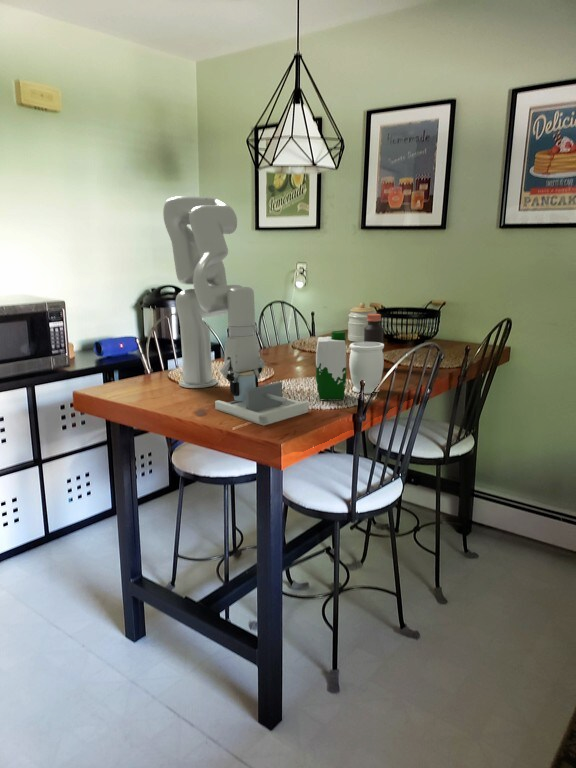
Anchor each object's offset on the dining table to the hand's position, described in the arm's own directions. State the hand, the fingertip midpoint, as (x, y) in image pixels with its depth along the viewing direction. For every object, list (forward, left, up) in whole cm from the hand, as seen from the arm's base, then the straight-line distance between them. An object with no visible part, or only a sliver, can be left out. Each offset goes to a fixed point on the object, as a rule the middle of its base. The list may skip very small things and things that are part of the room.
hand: (244, 392), depth 164 cm
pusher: (+13, 0, -3) cm, 13 cm away
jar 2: (+15, +37, -4) cm, 40 cm away
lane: (+7, 0, -4) cm, 8 cm away
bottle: (-3, +63, -4) cm, 63 cm away
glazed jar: (0, 0, -2) cm, 2 cm away
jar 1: (-45, +107, -4) cm, 116 cm away
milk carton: (+12, +24, -4) cm, 27 cm away
